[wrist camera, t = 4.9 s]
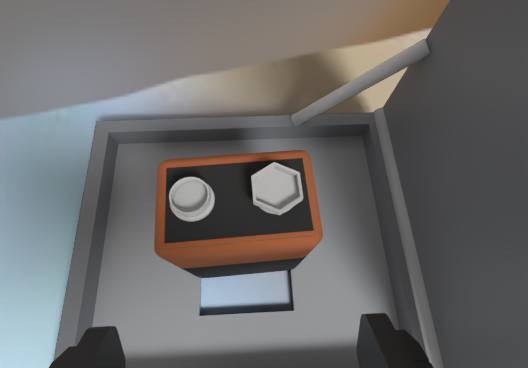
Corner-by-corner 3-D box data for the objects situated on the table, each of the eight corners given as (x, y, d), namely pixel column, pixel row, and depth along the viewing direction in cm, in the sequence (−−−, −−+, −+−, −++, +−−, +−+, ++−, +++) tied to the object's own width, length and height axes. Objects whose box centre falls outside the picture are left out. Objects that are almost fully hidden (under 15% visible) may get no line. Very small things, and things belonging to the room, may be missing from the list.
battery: (298, 270, 20) (332, 238, 11) (195, 279, 20) (141, 255, 11) (290, 207, 22) (314, 134, 13) (194, 215, 22) (147, 146, 12)
